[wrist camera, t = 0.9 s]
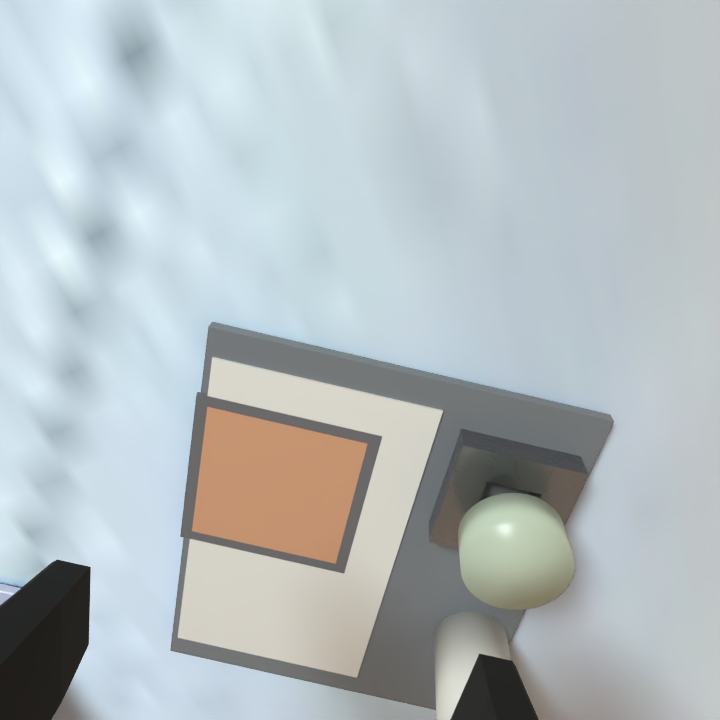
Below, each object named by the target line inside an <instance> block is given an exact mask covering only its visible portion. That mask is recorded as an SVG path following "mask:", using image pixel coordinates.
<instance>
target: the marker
mask: <svg viewBox="0 0 720 720" xmlns="http://www.w3.org/2000/svg"><path fill="white" fill-rule="evenodd" d="M479 654H484V655H488V656H493V657H497V658H502V659H506V660H511V658H510V651H509V645H508V639H507V633H506V630H505V628H504V627H503V625H502V624H501V623H500V622H499V621H498V620H497V619H495V618H494V617H492V616H490V615H487V614H484V613H480V612H472V611H467V612H459V613H456V614H452V615H450V616H448V617H446V618H445V619H443V620H442V621H441V622H440V623H439V624H438V626H437V627H436V629H435V632H434V656H435V689H436V720H450V719H451V717H452V715H453V713H454V710H455V708H456V706H457V703H458V701H459V699H460V697H461V694H462V692H463V690H464V687H465V685H466V683H467V681H468V678H469V676H470V674H471V671H472V669H473V667H474V665H475V662H476V660H477V658H478V655H479Z"/></svg>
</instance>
